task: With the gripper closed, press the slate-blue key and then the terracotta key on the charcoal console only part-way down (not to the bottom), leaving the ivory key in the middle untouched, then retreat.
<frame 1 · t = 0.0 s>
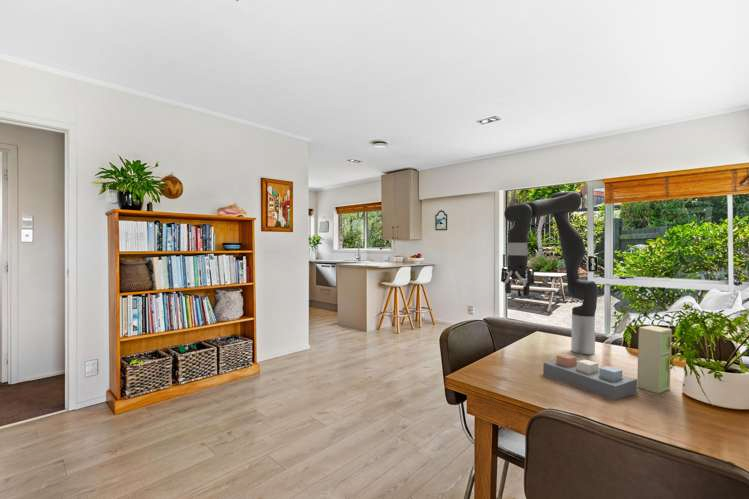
hand: (516, 294, 149), 29 cm above the table, fingers open, 8 cm apart
blue key: (610, 374, 125), point 6 cm above the table, slide at 0.0 cm
ivory key: (587, 367, 132), point 6 cm above the table, slide at 0.0 cm
console: (587, 382, 133), on the table
toy refrigerator: (654, 389, 128), on the table
terracotta key: (566, 361, 139), point 5 cm above the table, slide at 0.0 cm
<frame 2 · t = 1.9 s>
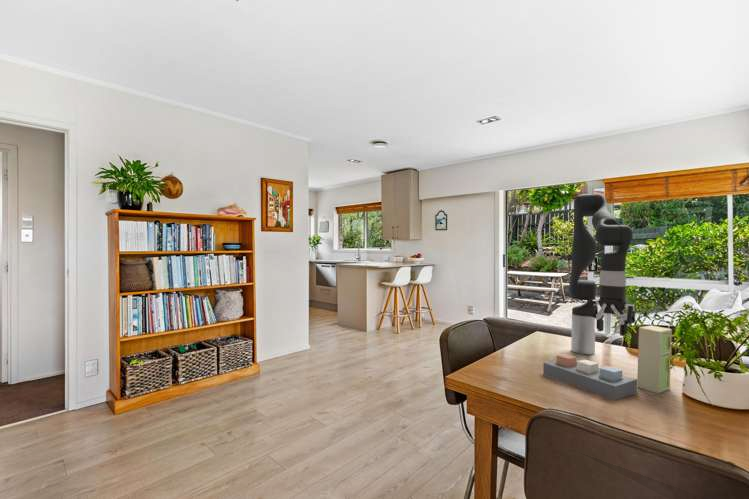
hand: (611, 332, 125), 20 cm above the table, fingers open, 6 cm apart
nothing on the table moved.
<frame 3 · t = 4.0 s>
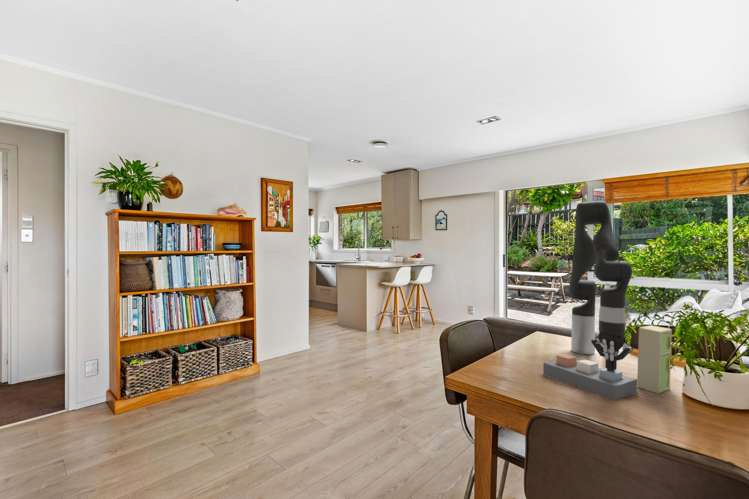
hand: (610, 370, 125), 7 cm above the table, fingers closed
blue key: (610, 376, 125), point 5 cm above the table, slide at 0.6 cm, touching gripper
everything else where it was.
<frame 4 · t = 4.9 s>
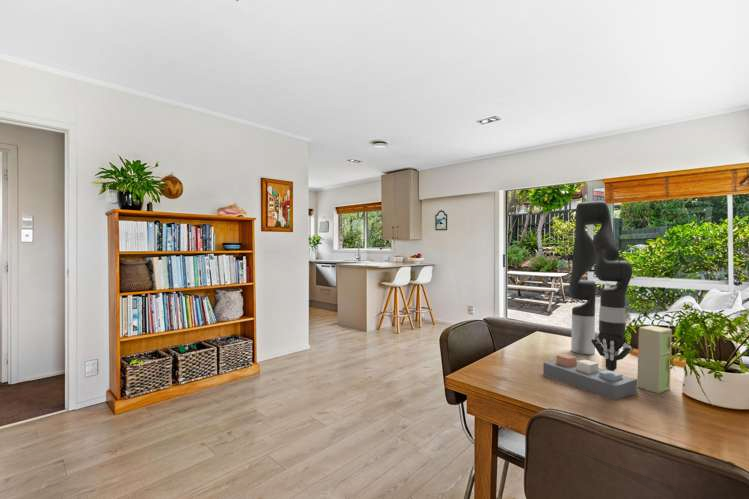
hand: (610, 370, 126), 7 cm above the table, fingers closed
blue key: (610, 379, 126), point 4 cm above the table, slide at 1.4 cm
everything else where it was.
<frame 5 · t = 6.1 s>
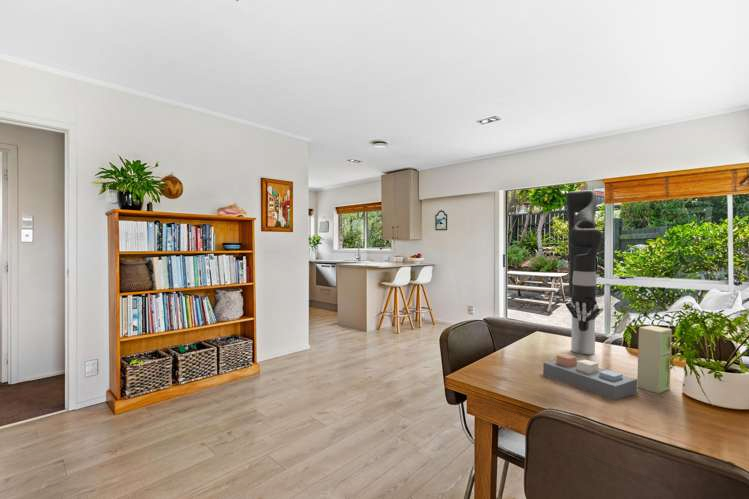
hand: (583, 330, 135), 18 cm above the table, fingers closed
nothing on the table moved.
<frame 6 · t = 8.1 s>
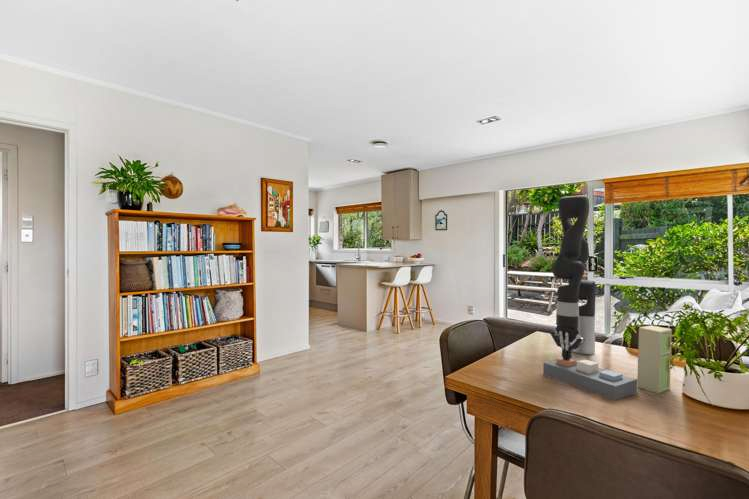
hand: (566, 359, 139), 6 cm above the table, fingers closed
terracotta key: (566, 364, 140), point 4 cm above the table, slide at 1.3 cm, touching gripper
everything else where it was.
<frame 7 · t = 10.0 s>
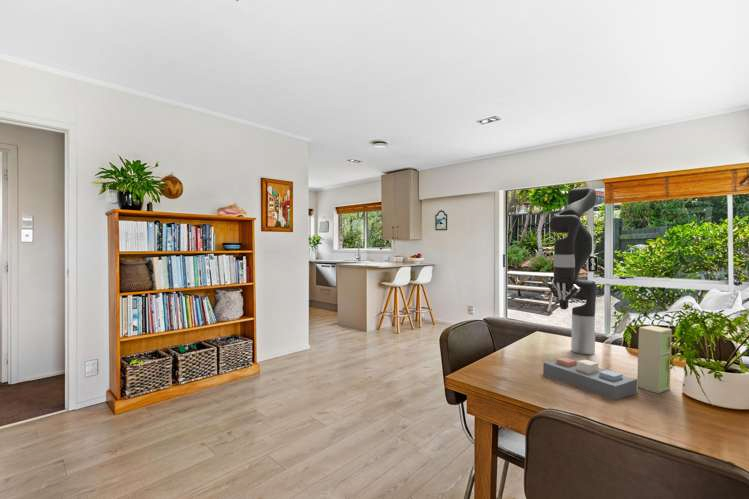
hand: (563, 309, 147), 24 cm above the table, fingers closed
terracotta key: (566, 365, 140), point 4 cm above the table, slide at 1.4 cm
everything else where it was.
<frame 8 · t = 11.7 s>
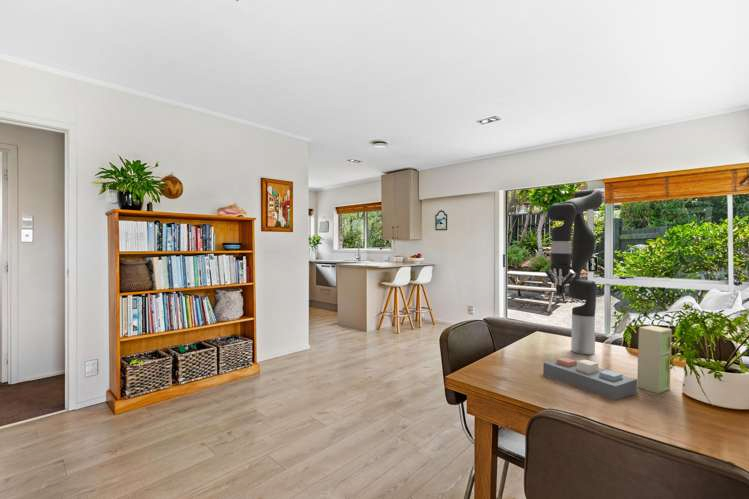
hand: (560, 294, 153), 29 cm above the table, fingers closed
nothing on the table moved.
at the end: blue key slide at 1.4 cm; terracotta key slide at 1.4 cm; ivory key slide at 0.0 cm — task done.
